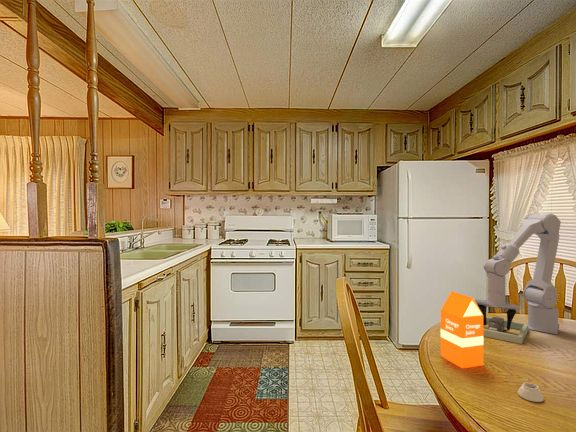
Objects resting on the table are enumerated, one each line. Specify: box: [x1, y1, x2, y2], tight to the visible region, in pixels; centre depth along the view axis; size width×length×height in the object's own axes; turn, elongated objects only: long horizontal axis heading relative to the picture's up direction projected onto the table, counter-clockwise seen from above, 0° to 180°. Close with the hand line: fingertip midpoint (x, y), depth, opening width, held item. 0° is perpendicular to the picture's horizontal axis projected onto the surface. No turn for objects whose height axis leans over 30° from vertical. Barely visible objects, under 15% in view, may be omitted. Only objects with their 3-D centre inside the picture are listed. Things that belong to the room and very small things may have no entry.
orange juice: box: [440, 291, 485, 369], centre depth 101 cm, size 8×9×20 cm
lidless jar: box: [517, 382, 545, 403], centre depth 80 cm, size 5×3×5 cm
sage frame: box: [483, 316, 529, 345], centre depth 126 cm, size 18×18×2 cm
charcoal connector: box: [487, 316, 505, 333], centre depth 125 cm, size 4×13×4 cm, turn 139°
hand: (496, 327), depth 126 cm, fingers open, 7 cm apart
